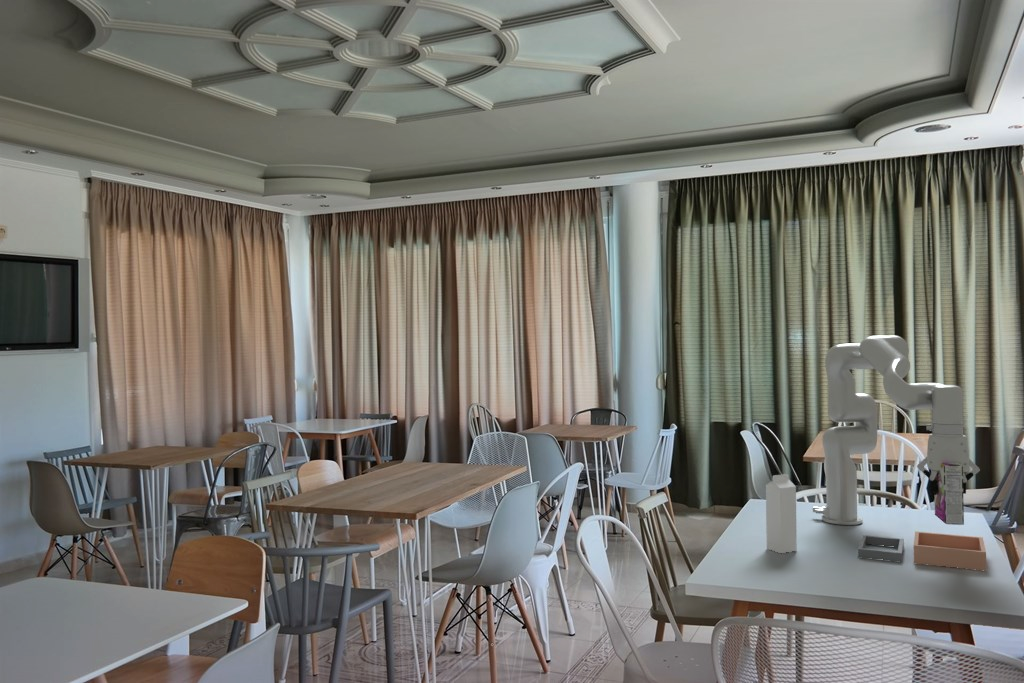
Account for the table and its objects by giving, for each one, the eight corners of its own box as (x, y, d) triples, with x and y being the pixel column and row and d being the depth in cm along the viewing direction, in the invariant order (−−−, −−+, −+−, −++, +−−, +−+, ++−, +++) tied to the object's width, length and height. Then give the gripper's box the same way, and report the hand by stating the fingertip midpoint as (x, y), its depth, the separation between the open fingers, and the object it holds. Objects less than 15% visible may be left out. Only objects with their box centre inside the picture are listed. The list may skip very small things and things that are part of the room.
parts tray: (858, 557, 226) (857, 548, 226) (862, 543, 241) (862, 535, 241) (901, 562, 221) (901, 553, 221) (903, 547, 236) (903, 538, 236)
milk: (796, 551, 233) (796, 475, 233) (780, 554, 231) (780, 477, 231) (782, 546, 239) (781, 472, 239) (765, 548, 236) (765, 473, 236)
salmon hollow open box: (913, 563, 219) (913, 545, 219) (915, 548, 234) (915, 531, 234) (986, 571, 211) (986, 552, 211) (982, 555, 226) (982, 537, 226)
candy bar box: (933, 515, 229) (932, 457, 228) (952, 516, 227) (952, 458, 227) (944, 524, 218) (943, 463, 218) (964, 525, 217) (964, 464, 216)
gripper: (912, 430, 223) (913, 495, 223) (984, 432, 215) (985, 500, 215) (913, 427, 230) (913, 490, 230) (982, 429, 222) (983, 495, 222)
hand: (948, 494), depth 223 cm, fingers closed on candy bar box, 5 cm apart
